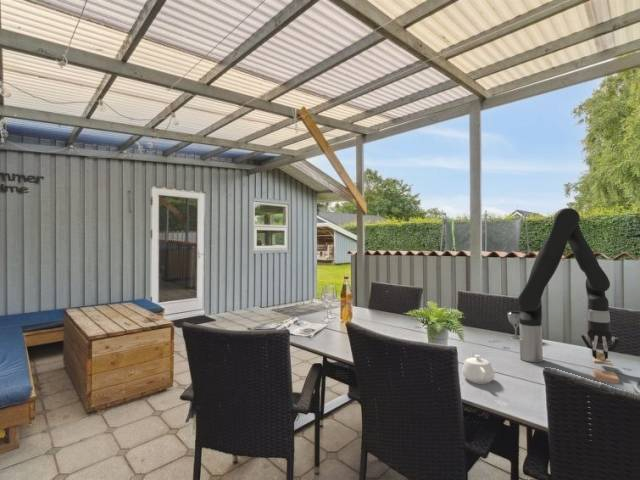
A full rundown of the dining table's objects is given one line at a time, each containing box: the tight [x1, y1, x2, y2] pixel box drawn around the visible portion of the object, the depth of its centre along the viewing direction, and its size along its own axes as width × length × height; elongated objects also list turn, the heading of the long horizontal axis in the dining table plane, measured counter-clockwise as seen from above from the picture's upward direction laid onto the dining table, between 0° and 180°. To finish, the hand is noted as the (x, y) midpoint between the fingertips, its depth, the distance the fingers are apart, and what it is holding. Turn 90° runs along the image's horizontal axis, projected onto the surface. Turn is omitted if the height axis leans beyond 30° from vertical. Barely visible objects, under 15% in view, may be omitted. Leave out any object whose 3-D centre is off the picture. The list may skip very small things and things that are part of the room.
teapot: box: [461, 353, 495, 385], centre depth 141 cm, size 20×12×10 cm, turn 170°
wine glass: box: [507, 310, 520, 340], centre depth 198 cm, size 8×8×15 cm
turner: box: [591, 350, 614, 367], centre depth 147 cm, size 6×16×4 cm, turn 146°
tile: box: [592, 368, 620, 385], centre depth 138 cm, size 7×2×8 cm
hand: (600, 358), depth 148 cm, fingers closed on turner, 2 cm apart
